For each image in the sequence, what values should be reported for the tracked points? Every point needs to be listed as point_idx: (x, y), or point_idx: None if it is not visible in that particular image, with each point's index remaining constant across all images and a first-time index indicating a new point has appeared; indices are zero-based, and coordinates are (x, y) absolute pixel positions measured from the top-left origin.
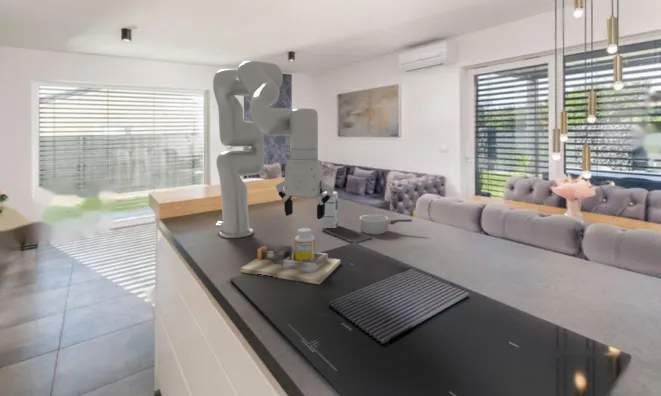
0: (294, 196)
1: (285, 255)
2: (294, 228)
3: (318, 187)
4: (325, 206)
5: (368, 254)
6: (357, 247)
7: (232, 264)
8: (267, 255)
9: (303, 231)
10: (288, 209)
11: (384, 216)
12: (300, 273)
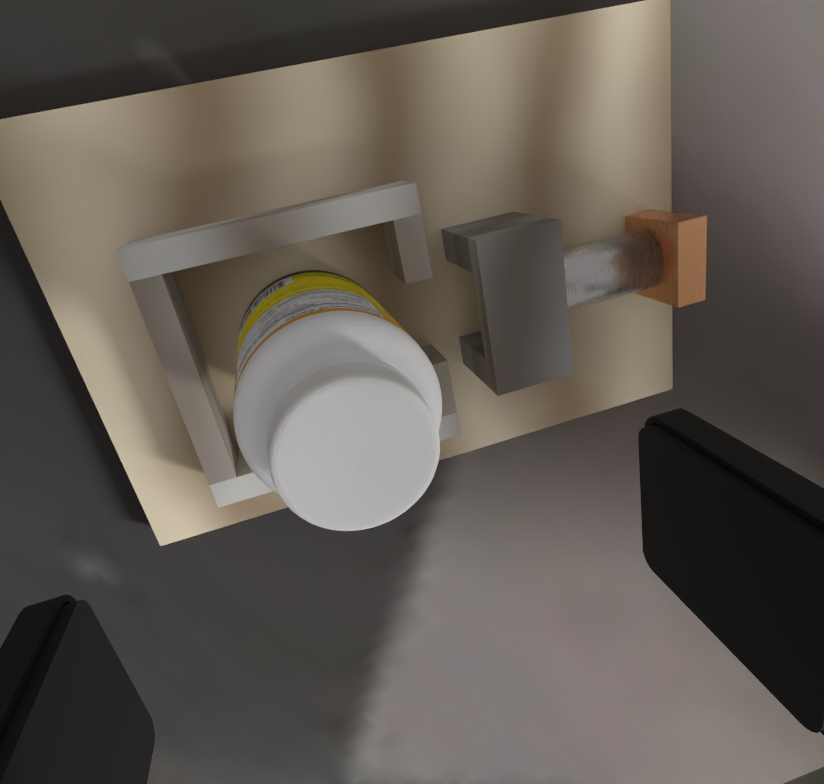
0: (811, 780)
1: None
2: (744, 737)
3: None
4: None
5: None
6: (267, 771)
7: (770, 96)
8: (605, 240)
9: (315, 393)
10: (709, 495)
11: None
12: (208, 159)
